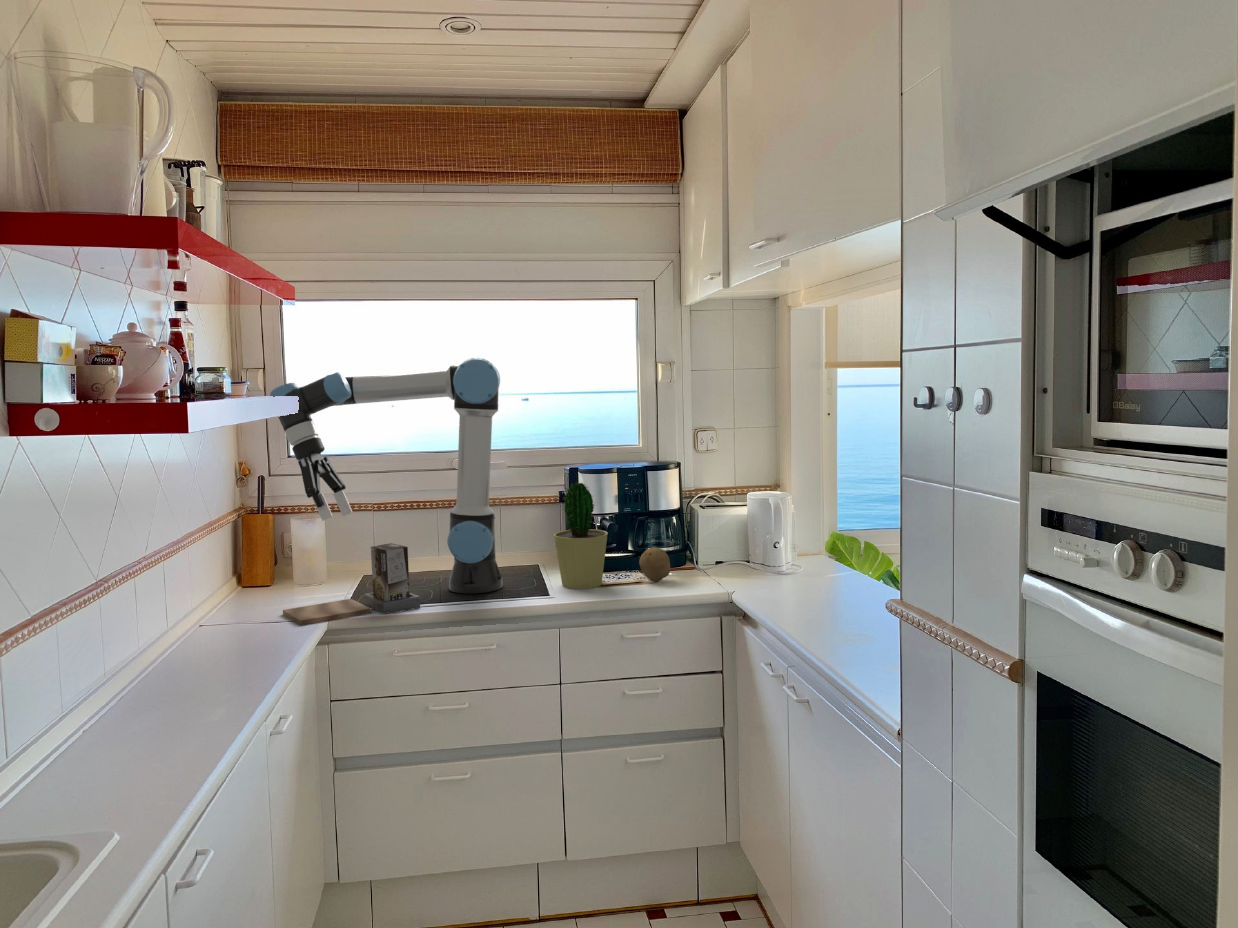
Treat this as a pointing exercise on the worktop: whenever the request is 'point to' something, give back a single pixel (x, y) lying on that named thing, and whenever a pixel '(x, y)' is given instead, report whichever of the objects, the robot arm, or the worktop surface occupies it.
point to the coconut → (655, 564)
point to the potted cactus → (580, 542)
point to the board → (326, 611)
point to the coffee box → (390, 571)
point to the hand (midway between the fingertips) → (338, 516)
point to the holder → (391, 603)
